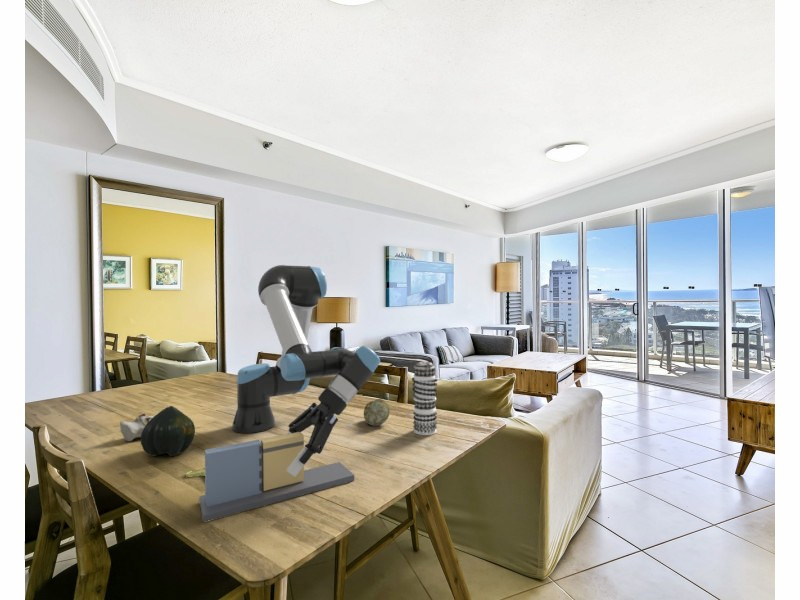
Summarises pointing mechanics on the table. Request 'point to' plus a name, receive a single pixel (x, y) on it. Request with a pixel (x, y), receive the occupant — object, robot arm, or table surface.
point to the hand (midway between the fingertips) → (282, 463)
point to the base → (281, 491)
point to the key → (196, 473)
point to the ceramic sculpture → (134, 427)
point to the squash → (168, 433)
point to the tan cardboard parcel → (280, 460)
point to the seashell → (376, 412)
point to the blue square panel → (233, 472)
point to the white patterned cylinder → (424, 398)
